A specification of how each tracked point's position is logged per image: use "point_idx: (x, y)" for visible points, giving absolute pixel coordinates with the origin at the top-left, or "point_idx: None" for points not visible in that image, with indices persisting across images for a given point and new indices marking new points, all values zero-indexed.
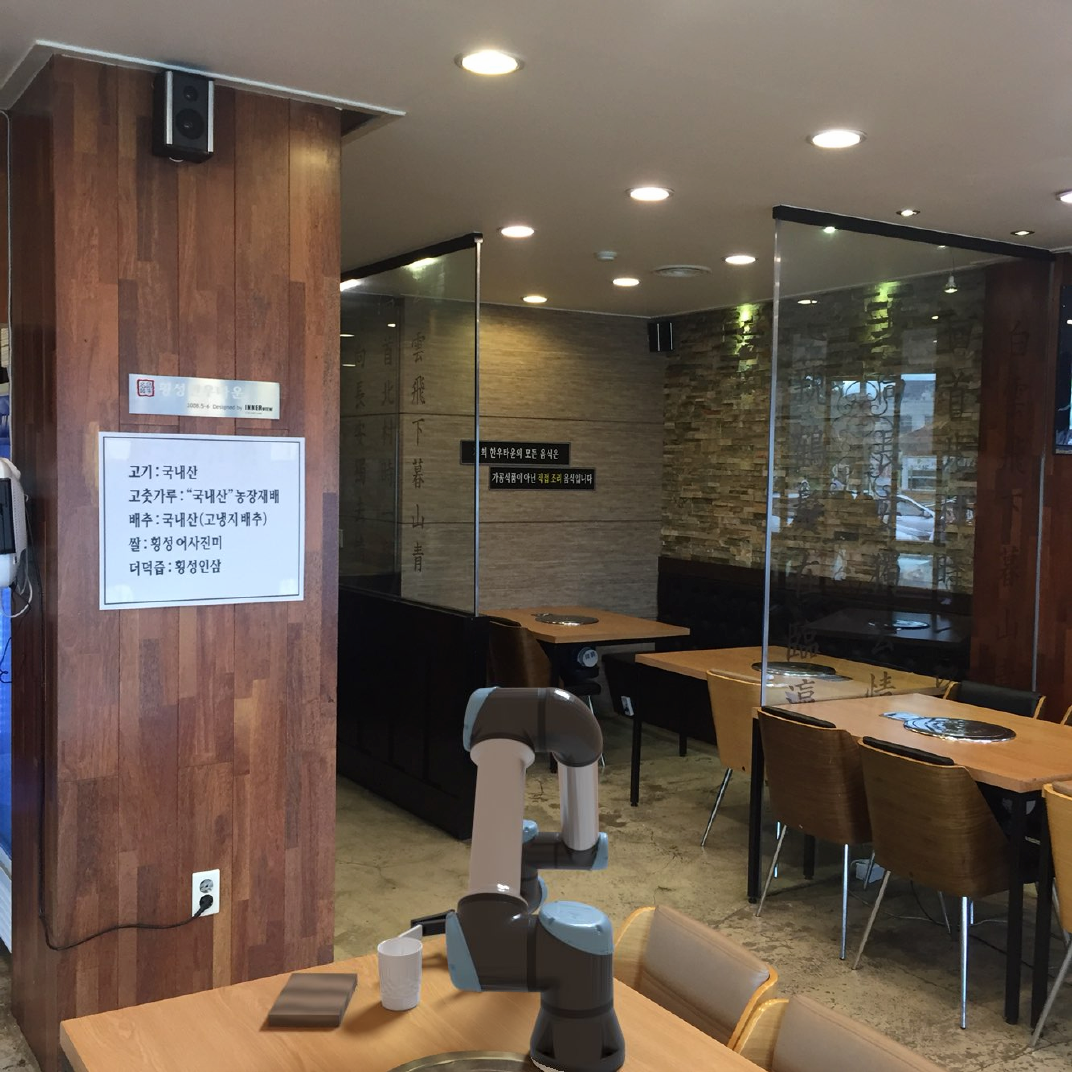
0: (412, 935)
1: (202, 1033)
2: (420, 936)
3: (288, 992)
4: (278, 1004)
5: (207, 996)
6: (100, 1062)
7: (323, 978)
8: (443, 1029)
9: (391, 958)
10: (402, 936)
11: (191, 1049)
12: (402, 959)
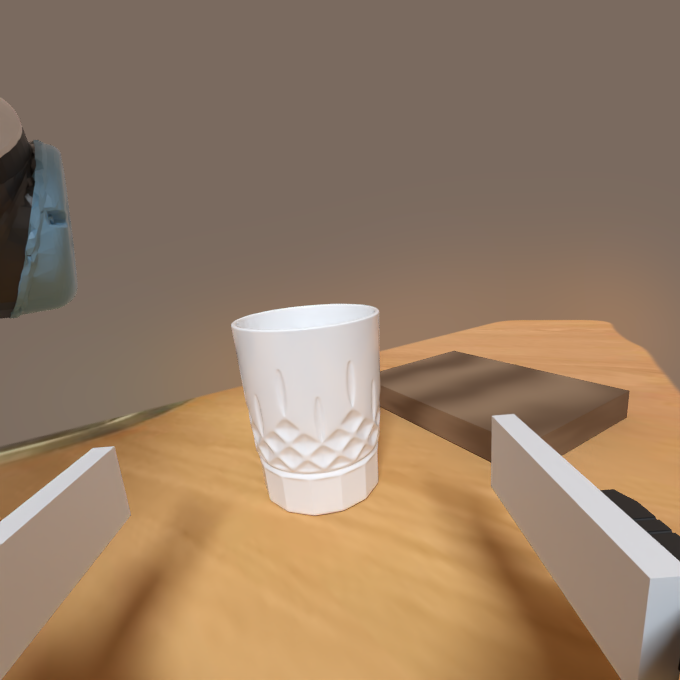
0: (548, 508)
1: (496, 346)
2: (616, 638)
3: (516, 370)
4: (477, 359)
5: (634, 362)
6: (498, 322)
7: (547, 405)
8: (150, 459)
9: (292, 315)
10: (499, 425)
11: (463, 340)
12: (265, 323)
